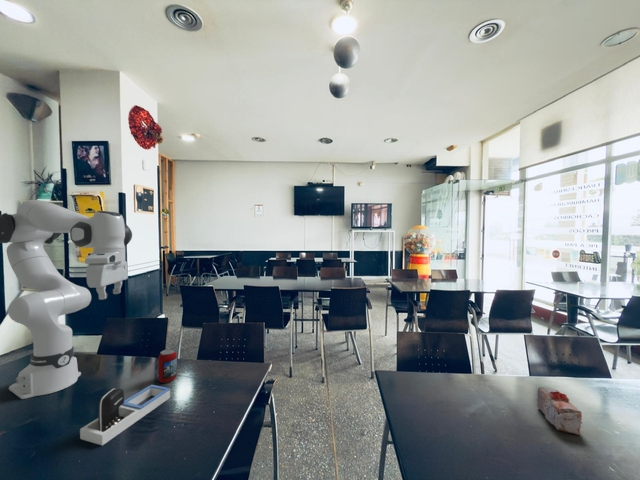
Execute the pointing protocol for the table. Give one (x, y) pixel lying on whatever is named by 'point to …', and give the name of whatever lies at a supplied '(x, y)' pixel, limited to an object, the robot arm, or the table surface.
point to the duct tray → (127, 414)
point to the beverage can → (167, 365)
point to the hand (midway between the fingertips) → (110, 296)
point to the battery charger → (110, 408)
